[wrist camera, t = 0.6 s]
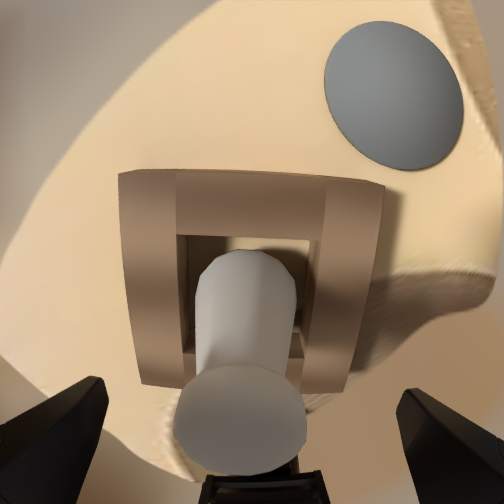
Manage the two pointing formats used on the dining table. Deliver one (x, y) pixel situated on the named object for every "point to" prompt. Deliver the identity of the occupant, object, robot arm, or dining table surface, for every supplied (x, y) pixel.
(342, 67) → the slate coaster
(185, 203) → the walnut frame
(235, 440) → the salt shaker
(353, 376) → the dining table surface
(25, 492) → the robot arm
